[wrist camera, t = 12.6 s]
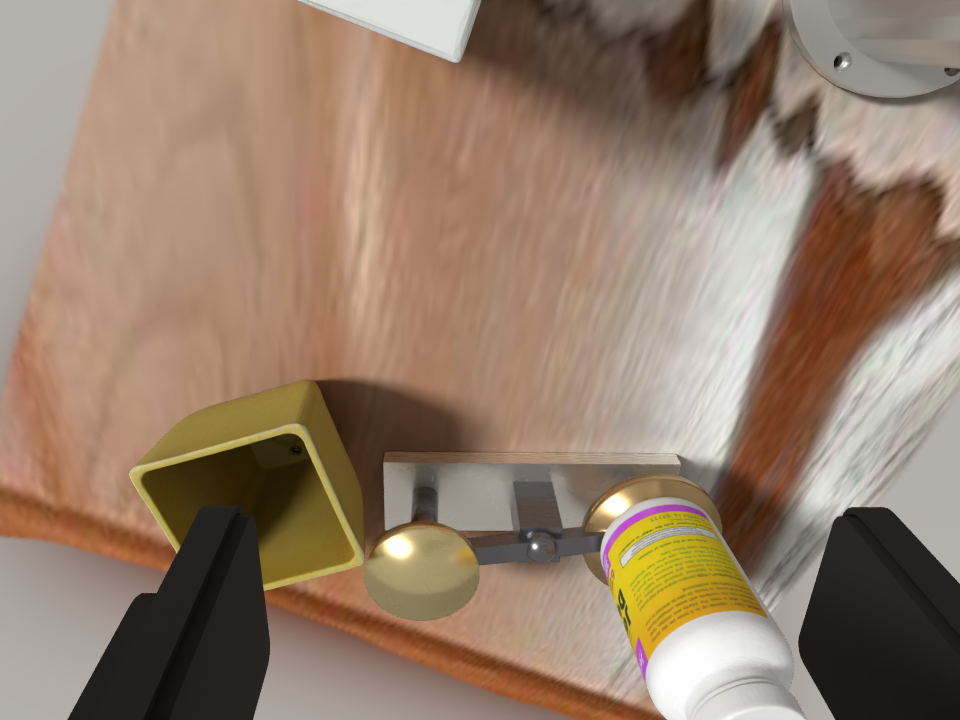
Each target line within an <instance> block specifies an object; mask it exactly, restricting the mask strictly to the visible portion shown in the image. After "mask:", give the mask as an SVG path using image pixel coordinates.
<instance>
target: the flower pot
mask: <svg viewBox="0 0 960 720" xmlns="http://www.w3.org/2000/svg"><path fill="white" fill-rule="evenodd" d="M293 446H299V447H300V448H301V451H300V452H298V453H295V452H293V451H292V449H291V448H292V447H293ZM129 476H130V479H131V481H132V483H133V485H134V486H135V488H136V489H137V491H138V493H139V494H140V496H141V497H142V499H143V500H144V502H145V504H146V505H147V507H148V508H149V509H150V511H151V513H152V514H153V516H154V517H155V519H156V521H157V522H158V524H159V525H160V527H161V528H162V530H163V531H164V533H165V534H166V536H167V538H168V539H169V541H170V542H171V544H172V546H173V547H174V549H175V551H176V553H178V551H179V549H180V547H181V545H182V543H183V541H184V539H185V537H186V535H187V533H188V531H189V529H190V527H191V525H192V523H193V521H194V519H195V517H196V516H197V514H198V512H199V510H200V509H201V507H203V506H240V507H241V508H242V510H243V514H244V515H252V516H254V518H255V522H256V530H257V538H258V546H259V555H260V563H261V571H262V580H263V588H264V591H265V590H269V589H273V588H277V587H281V586H285V585H289V584H292V583H296V582H301V581H305V580H308V579H312V578H316V577H320V576H325V575H329V574H333V573H336V572H340V571H345V570H348V569H351V568H354V567H357V566H361V565H363V564H364V562H365V535H364V508H363V497H362V492H361V488H360V484H359V481H358V478H357V475H356V473H355V470H354V468H353V466H352V463H351V461H350V459H349V457H348V455H347V452H346V450H345V448H344V446H343V443H342V441H341V439H340V437H339V434H338V432H337V430H336V427H335V425H334V423H333V420H332V418H331V416H330V413H329V411H328V409H327V406H326V404H325V401H324V399H323V396H322V394H321V391H320V389H319V387H318V385H317V384H316V383H315V382H314V381H312V380H302V381H298V382H295V383H292V384H288V385H285V386H281V387H277V388H274V389H270V390H267V391H263V392H260V393H256V394H253V395H249V396H245V397H242V398H238V399H234V400H231V401H227V402H223V403H219V404H216V405H213V406H210V407H207V408H204V409H202V410H199V411H197V412H195V413H193V414H191V415H189V416H188V417H186V418H184V419H183V420H181V421H180V422H179V423H178V424H176V425H175V426H174V427H173V428H172V429H171V430H170V431H169V432H168V433H167V434H166V435H165V436H164V437H163V438H162V439H161V440H160V441H159V442H158V443H157V444H156V445H155V446H154V447H153V448H152V449H151V450H150V451H149V452H148V453H147V454H146V455H145V456H144V457H143V458H142V459H141V460H140V461H139V462H138V463H137V464H136V465H135V466H134V467H133V468H132V470H131V471H130V473H129Z"/></svg>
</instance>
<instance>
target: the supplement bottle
mask: <svg viewBox="0 0 960 720" xmlns="http://www.w3.org/2000/svg"><path fill="white" fill-rule="evenodd" d="M600 555H601V563H602V567H603V569H604V572H605V576H606V578H607V581H608V584H609V586H610V589H611V592H612V594H613V597H614V600H615V602H616V605H617V608H618V611H619V613H620V616H621V618H622V621H623V624H624V627H625V629H626V632H627V635H628V638H629V640H630V643H631V645H632V648H633V650H634V653H635V656H636V658H637V661H638V664H639V666H640V669H641V672H642V674H643V677H644V680H645V683H646V686H647V688H648V691H649V693H650V696H651V699H652V700H653V702H654V704H655V706H656V707H657V709H658V710H659V711H660V713H661V714H662V715H663V716H664V717H665V718H666V719H667V720H807V718H806V717H805V715H804V713H803V711H802V709H801V707H800V705H799V704H798V701H797V700H796V699H795V697H794V696H793V695H792V694H791V693H790V692H789V689H790V686H791V684H792V680H793V675H794V660H793V655H792V651H791V648H790V646H789V644H788V642H787V640H786V638H785V636H784V635H783V633H782V632H781V630H780V629H779V627H778V625H777V624H776V622H775V621H774V619H773V618H772V616H771V614H770V613H769V611H768V610H767V608H766V606H765V605H764V603H763V602H762V600H761V598H760V597H759V595H758V594H757V592H756V590H755V589H754V587H753V586H752V584H751V582H750V581H749V579H748V577H747V576H746V574H745V573H744V571H743V569H742V568H741V566H740V564H739V563H738V561H737V559H736V558H735V556H734V555H733V553H732V551H731V550H730V548H729V546H728V545H727V543H726V542H725V540H724V538H723V537H722V535H721V534H720V532H719V530H718V529H717V527H716V526H715V524H714V522H713V521H712V519H711V518H710V517H709V515H708V514H707V513H706V512H705V511H704V510H703V509H702V508H700V507H699V506H697V505H696V504H694V503H692V502H690V501H687V500H684V499H680V498H675V497H658V498H652V499H648V500H645V501H642V502H639V503H637V504H635V505H633V506H631V507H630V508H628V509H626V510H625V511H624V512H622V513H621V514H620V515H619V516H618V517H617V518H616V519H615V520H614V521H613V522H612V523H611V524H610V526H609V527H608V529H607V531H606V533H605V535H604V537H603V540H602V544H601V551H600Z"/></svg>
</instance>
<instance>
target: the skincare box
mask: <svg viewBox="0 0 960 720" xmlns="http://www.w3.org/2000/svg"><path fill="white" fill-rule="evenodd" d="M297 1H300V2H302V3H304V4H307V5H309V6H312V7H314V8H316V9H319V10H321V11H324V12H326V13H329V14H331V15H334V16H336V17H339V18H341V19H344V20H346V21H348V22H351V23H353V24H356V25H358V26H361V27H363V28H366V29H368V30H371V31H374V32H376V33H379V34H381V35H384V36H386V37H389V38H391V39H394V40H396V41H399V42H401V43H404V44H407V45H409V46H412V47H414V48H417V49H419V50H422V51H424V52H427V53H430V54H432V55H435V56H438V57H440V58H443V59H446V60H448V61H451V62H454V63H458V62H460V60H461V58H462V56H463V54H464V51H465V48H466V45H467V42H468V39H469V37H470V34H471V31H472V28H473V25H474V22H475V19H476V16H477V13H478V10H479V7H480V4H481V0H297Z"/></svg>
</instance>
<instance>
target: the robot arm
mask: <svg viewBox="0 0 960 720" xmlns="http://www.w3.org/2000/svg"><path fill="white" fill-rule="evenodd" d="M782 1H783V10H784V13H785V16H786V20H787V23H788V26H789V30H790V33H791V35H792V37H793V39H794V41H795V43H796V44H797V46H798V48H799V50H800V52H801V54H802V55H803V57H804V58H805V59H806V60H807V61H808V62H809V63H810V64H811V66H812V67H813V68H814V69H815V70H816V71H817V72H818V73H819V74H820V75H822V76H823V77H825V78H826V79H828V80H829V81H830V82H832V83H833V84H835V85H836V86H839V87H841V88H844V89H847V90H849V91H852V92H854V93H857V94H863V95H868V96H874V97H887V98H903V97H909V96H915V95H921V94H926V93H929V92H932V91H934V90H937V89H940V88H943V87H945V86H948V85H951V84H952V83H954V82H956V81H958V80H959V79H960V0H782ZM836 56H837V58H838V62H837V65H835V66H834V60H835V58H836ZM798 644H799V645H798V646H799V653H800V656H801V659H802V661H803V663H804V665H805V667H806V668H807V670H808V672H809V674H810V676H811V677H812V679H813V681H814V683H815V684H816V686H817V688H818V690H819V691H820V693H821V695H822V697H823V698H824V700H825V702H826V704H827V705H828V707H829V709H830V711H831V713H832V714H833V716H834V718H835V720H960V584H959V583H958V582H957V580H956V579H955V578H954V577H953V576H952V575H951V574H950V573H949V572H948V571H947V570H946V569H945V568H944V567H943V565H941V563H940V562H939V561H938V560H937V559H936V558H935V557H934V556H933V555H932V554H931V553H930V551H929V550H928V549H927V548H926V547H925V546H924V545H923V544H922V543H921V542H920V541H919V540H918V538H917V537H916V536H915V535H914V534H913V533H912V532H911V531H910V530H909V529H908V528H907V527H906V525H905V524H904V523H903V522H902V521H901V520H900V519H899V518H898V517H897V516H896V515H895V514H894V513H893V512H892V511H891V510H889V509H888V508H884V507H851V508H848V509H847V510H846V511H845V512H844V513H843V516H840V517H837V518H836V519H835V520H834V522H833V525H832V528H831V532H830V535H829V538H828V542H827V545H826V548H825V552H824V555H823V558H822V562H821V565H820V568H819V572H818V575H817V578H816V582H815V585H814V588H813V592H812V595H811V598H810V602H809V605H808V609H807V612H806V615H805V618H804V622H803V625H802V628H801V632H800V635H799V641H798ZM269 655H270V638H269V630H268V622H267V614H266V605H265V596H264V588H263V580H262V571H261V563H260V555H259V546H258V538H257V530H256V522H255V518H254V516H252V515H244V514H243V510H242V508H241V507H240V506H203V507H201V509H200V510H199V512H198V514H197V516H196V517H195V519H194V521H193V523H192V525H191V527H190V529H189V531H188V533H187V535H186V537H185V539H184V541H183V543H182V545H181V547H180V549H179V551H178V553H177V555H176V556H175V558H174V560H173V562H172V564H171V566H170V568H169V570H168V572H167V574H166V576H165V578H164V580H163V582H162V584H161V586H160V588H159V590H158V592H157V593H141V594H140V595H138V596H137V597H136V598H135V599H134V600H133V602H132V603H131V605H130V607H129V608H128V610H127V612H126V614H125V615H124V617H123V619H122V621H121V623H120V625H119V627H118V628H117V630H116V632H115V634H114V636H113V637H112V639H111V641H110V643H109V645H108V646H107V648H106V650H105V652H104V654H103V656H102V657H101V659H100V661H99V663H98V665H97V667H96V668H95V670H94V672H93V674H92V676H91V678H90V679H89V681H88V683H87V685H86V687H85V689H84V690H83V692H82V694H81V696H80V698H79V700H78V701H77V703H76V705H75V707H74V709H73V711H72V712H71V714H70V716H69V718H68V720H253V717H254V714H255V710H256V706H257V703H258V699H259V696H260V692H261V689H262V685H263V681H264V678H265V674H266V670H267V667H268V662H269Z"/></svg>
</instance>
